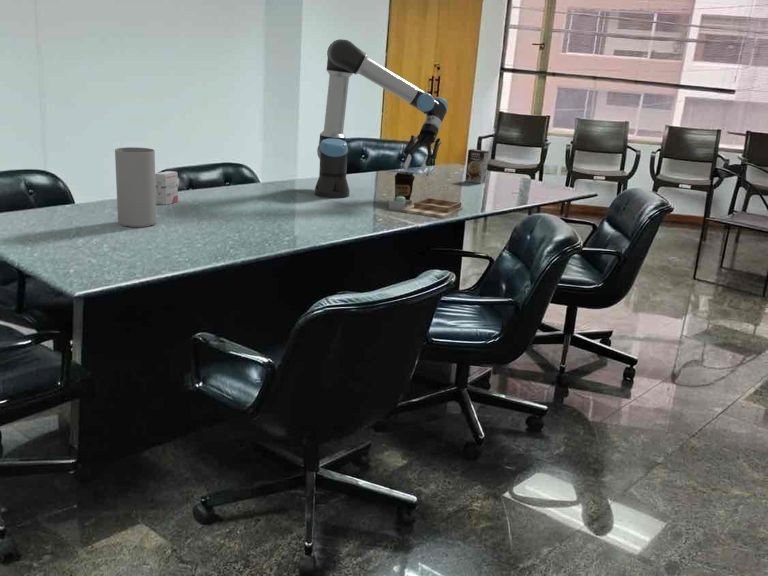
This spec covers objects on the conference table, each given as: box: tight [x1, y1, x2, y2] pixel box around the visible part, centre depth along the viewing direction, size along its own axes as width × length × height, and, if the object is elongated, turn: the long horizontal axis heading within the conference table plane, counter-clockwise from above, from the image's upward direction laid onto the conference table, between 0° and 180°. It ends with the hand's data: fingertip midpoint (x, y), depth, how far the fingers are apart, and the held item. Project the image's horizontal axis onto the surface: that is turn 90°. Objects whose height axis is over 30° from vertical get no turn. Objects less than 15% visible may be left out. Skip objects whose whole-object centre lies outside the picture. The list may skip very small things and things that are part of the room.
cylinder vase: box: [114, 146, 158, 228], centre depth 258 cm, size 12×12×25 cm
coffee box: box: [464, 148, 490, 185], centre depth 390 cm, size 9×6×16 cm
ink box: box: [155, 170, 179, 206], centre depth 296 cm, size 9×5×12 cm, turn 160°
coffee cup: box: [394, 171, 416, 200], centre depth 324 cm, size 9×8×13 cm
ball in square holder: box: [388, 198, 413, 212], centre depth 313 cm, size 7×7×4 cm
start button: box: [396, 196, 405, 202], centre depth 313 cm, size 4×4×4 cm
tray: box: [401, 197, 463, 219], centre depth 314 cm, size 18×22×3 cm
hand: (413, 168), depth 330 cm, fingers open, 7 cm apart
